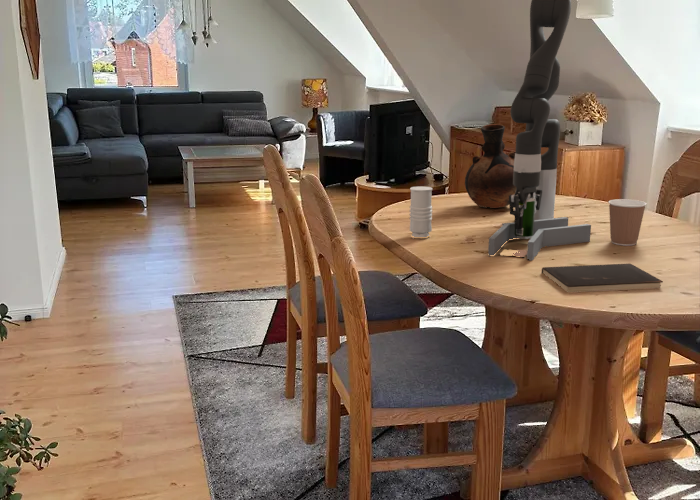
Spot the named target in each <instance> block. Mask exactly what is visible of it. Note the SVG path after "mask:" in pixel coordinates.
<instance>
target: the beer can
mask: <svg viewBox="0 0 700 500" xmlns="http://www.w3.org/2000/svg"><path fill="white" fill-rule="evenodd" d="M534 198H535V197H530V198H529V199H528V200H527V207H526V209H524V213H523V216H522V217H523V225H522V229H515V230H514V234H515V237H516V238H520V239H519V240H528V239H529V240H530V239H531V238H532V236H533V230H534V213H535V199H534ZM523 204H524V202H523V203H521V202H519V205H521V206H522V205H523ZM520 210H521V208H519V212H520Z"/></svg>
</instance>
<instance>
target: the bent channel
mask: <svg viewBox="0 0 700 500" xmlns="http://www.w3.org/2000/svg"><path fill="white" fill-rule="evenodd" d="M501 224H502V225H501V227H499V228H498V229H497V230H496V231H495V232H494V233H493V234H491V236H490V237H488V249H487V251H488V253H487V254H489V255H494V254H495V253H496V252H497V251H498V250H499V249H500V248H501V246H502V245H503V244H504V243H505V242H506V241H508V240H509V239H513V238H516V237H515V234H514V230H515V226H514V224H515V221H514V222H504V223H501ZM591 229H592V225H591V224H589V223H584V224H576V225H575V224H574V225H569V217H566V216H564V217H563V216H561V217H555V218H551V219H541V220H534V230H533V236H532V238H530V239H529V240H528V241H527V249H526V250H527V255H526V260H527V259H529V260H528V261H532V260H533V261H534V259H535V258H536V257H537V255H538V254H539V253H538V252H540V251H541V250H542V249H543V248H546V247H545V246H547V247H554V246H555V247H556V246H563V245H572V244H580V243H581V244H582V243H588V242H591V234H592V233H591V232H592V230H591ZM509 241H510V240H509ZM509 241H508V242H509ZM541 248H542V249H541ZM501 249H502V248H501ZM501 249H500V250H501ZM540 249H541V250H540ZM535 256H536V257H535ZM534 257H535V258H534Z"/></svg>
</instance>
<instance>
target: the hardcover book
mask: <svg viewBox="0 0 700 500" xmlns="http://www.w3.org/2000/svg"><path fill="white" fill-rule="evenodd" d="M543 273H544V274H545V275H544V274H543ZM541 274H543V275H544V276H546V277H547V276H548V277H549V278H548V277H547V278H548V279H549V280H551V279H552V280H553V281H554V282H553V281H552V280H551V281H552V282H553V283H555V282H556V283H557V284H558V286H559V287H560V286H561V287H562V288H561V287H560V288H561V289H562V290H564V291H566V292H567V293H581V292H583V293H584V292H603V291H605V292H606V291H624V290H627V291H628V290H629V291H630V290H645V289H646V290H647V289H649V290H650V289H661V286H662V283H663V282H664V280H662V279H660V278H657V277H656V276H654V275H652V274H651V273H648V272H646V271H644V269H641V268H640V267H638V266H636V265H634V264H632V263H630V262H629V263H613V264H612V263H610V264H609V263H607V264H586V265H585V264H584V265H570V266H569V265H565V266H564V265H562V266H561V265H560V266H544V267H541ZM556 283H555V284H556ZM557 284H556V285H557Z"/></svg>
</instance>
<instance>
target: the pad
mask: <svg viewBox="0 0 700 500" xmlns="http://www.w3.org/2000/svg"><path fill="white" fill-rule="evenodd" d="M518 250H519V251H518V253H517V252H516V253H515V254H514V253H513V254H514V255H515V256H520V257H525V256H526V257H527V249H518ZM519 252H520V253H519ZM512 256H513V255H512ZM526 257H525V258H526Z"/></svg>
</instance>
